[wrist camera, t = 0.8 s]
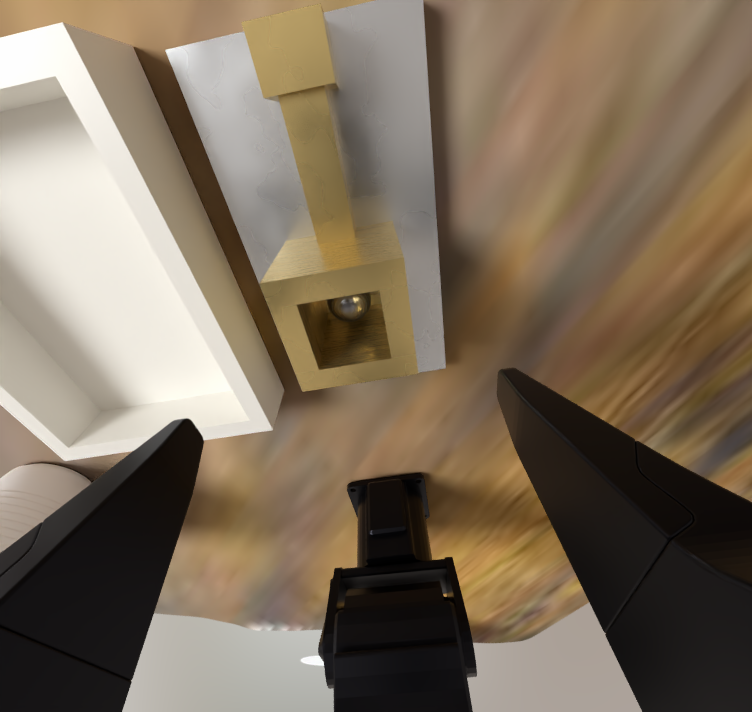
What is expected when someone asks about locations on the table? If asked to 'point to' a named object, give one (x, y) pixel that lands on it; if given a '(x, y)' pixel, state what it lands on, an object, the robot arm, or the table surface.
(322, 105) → the strut
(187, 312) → the bin
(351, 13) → the stud plate
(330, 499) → the table surface
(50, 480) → the cup
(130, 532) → the robot arm
